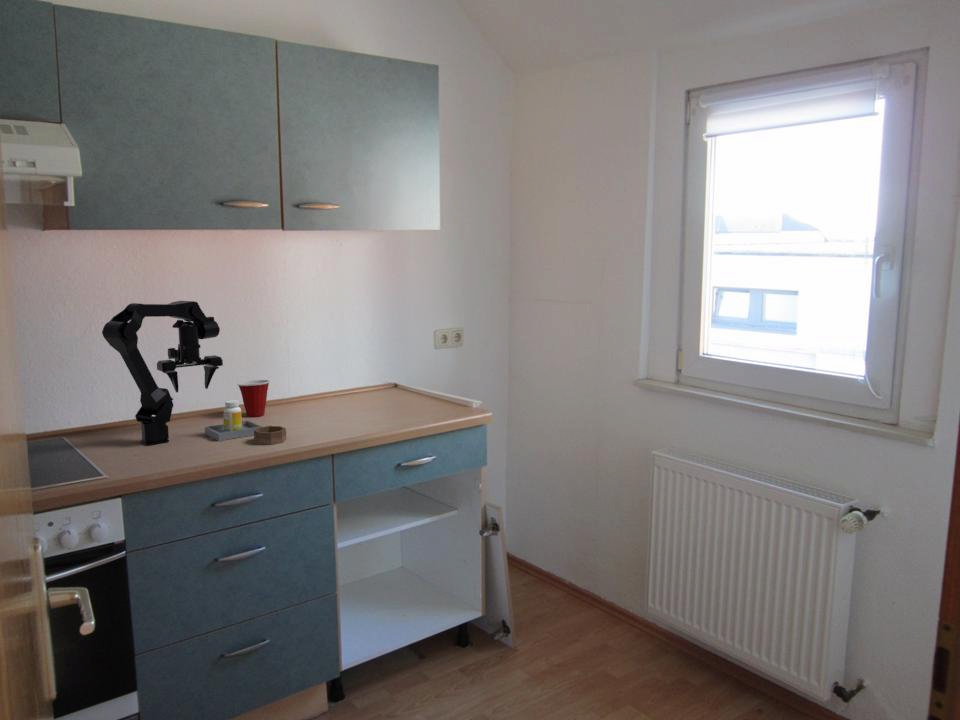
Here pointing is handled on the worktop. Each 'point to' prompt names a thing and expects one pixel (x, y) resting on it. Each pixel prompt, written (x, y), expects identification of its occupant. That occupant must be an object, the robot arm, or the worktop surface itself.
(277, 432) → the cup holder
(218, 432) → the tray
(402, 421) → the worktop surface
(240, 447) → the worktop surface
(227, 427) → the supplement bottle
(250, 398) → the plastic cup
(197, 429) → the worktop surface
